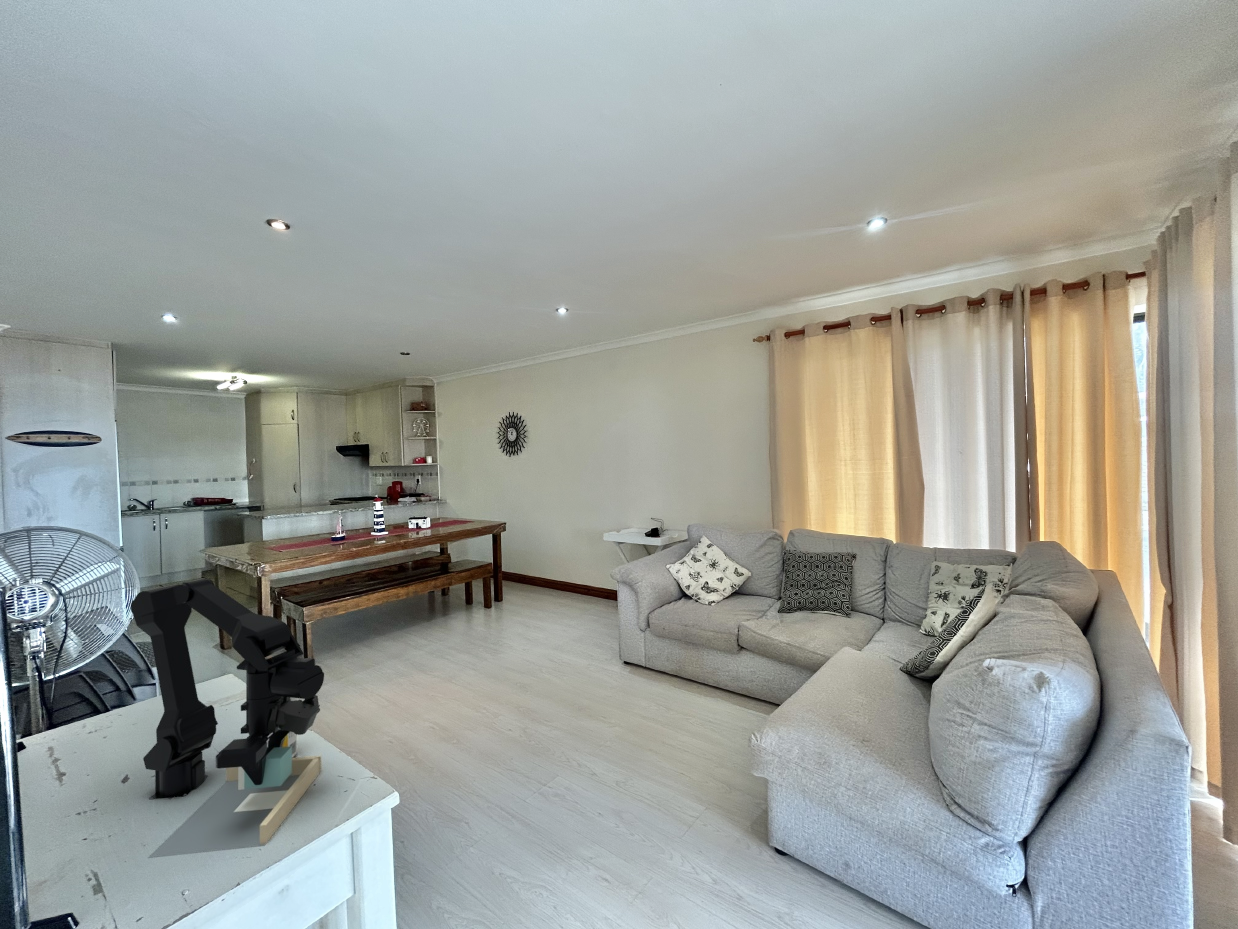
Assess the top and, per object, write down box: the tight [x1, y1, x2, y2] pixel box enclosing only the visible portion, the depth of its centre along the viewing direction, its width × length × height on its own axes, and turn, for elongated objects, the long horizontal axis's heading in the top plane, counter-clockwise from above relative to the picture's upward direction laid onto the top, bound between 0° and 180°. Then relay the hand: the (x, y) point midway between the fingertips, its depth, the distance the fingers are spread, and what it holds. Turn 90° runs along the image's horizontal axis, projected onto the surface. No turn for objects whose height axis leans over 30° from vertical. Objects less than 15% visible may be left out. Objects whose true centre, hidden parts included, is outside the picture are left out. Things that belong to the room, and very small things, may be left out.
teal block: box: [238, 746, 292, 790], centre depth 92 cm, size 4×7×5 cm, turn 98°
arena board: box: [147, 755, 322, 859], centre depth 90 cm, size 17×20×4 cm
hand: (265, 777), depth 92 cm, fingers closed on teal block, 4 cm apart
